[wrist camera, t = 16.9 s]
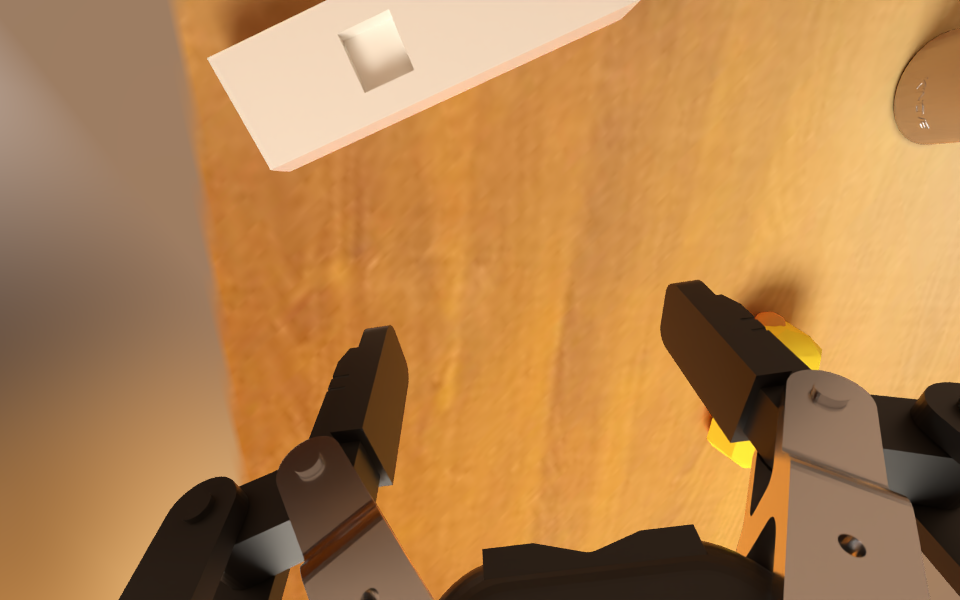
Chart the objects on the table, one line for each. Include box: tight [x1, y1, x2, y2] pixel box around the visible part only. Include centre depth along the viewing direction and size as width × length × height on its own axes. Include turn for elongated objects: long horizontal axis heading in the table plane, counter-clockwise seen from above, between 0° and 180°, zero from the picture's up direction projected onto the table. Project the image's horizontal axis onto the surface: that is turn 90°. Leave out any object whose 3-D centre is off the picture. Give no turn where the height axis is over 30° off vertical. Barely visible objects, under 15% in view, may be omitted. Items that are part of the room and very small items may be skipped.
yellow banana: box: [707, 312, 822, 468], centre depth 38 cm, size 18×7×8 cm
